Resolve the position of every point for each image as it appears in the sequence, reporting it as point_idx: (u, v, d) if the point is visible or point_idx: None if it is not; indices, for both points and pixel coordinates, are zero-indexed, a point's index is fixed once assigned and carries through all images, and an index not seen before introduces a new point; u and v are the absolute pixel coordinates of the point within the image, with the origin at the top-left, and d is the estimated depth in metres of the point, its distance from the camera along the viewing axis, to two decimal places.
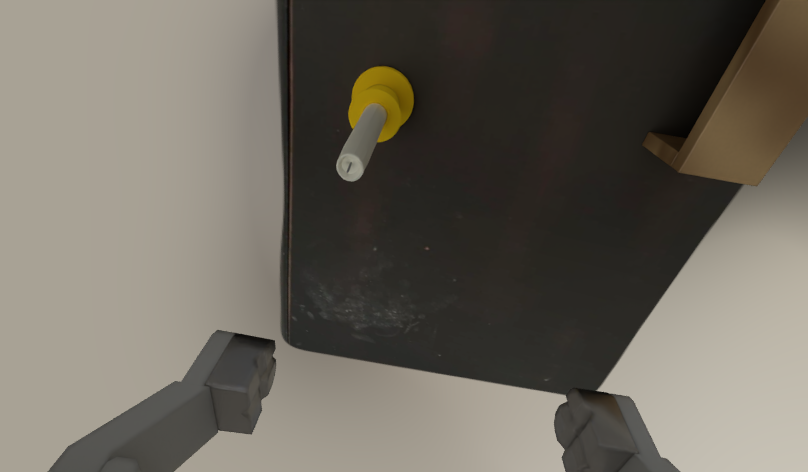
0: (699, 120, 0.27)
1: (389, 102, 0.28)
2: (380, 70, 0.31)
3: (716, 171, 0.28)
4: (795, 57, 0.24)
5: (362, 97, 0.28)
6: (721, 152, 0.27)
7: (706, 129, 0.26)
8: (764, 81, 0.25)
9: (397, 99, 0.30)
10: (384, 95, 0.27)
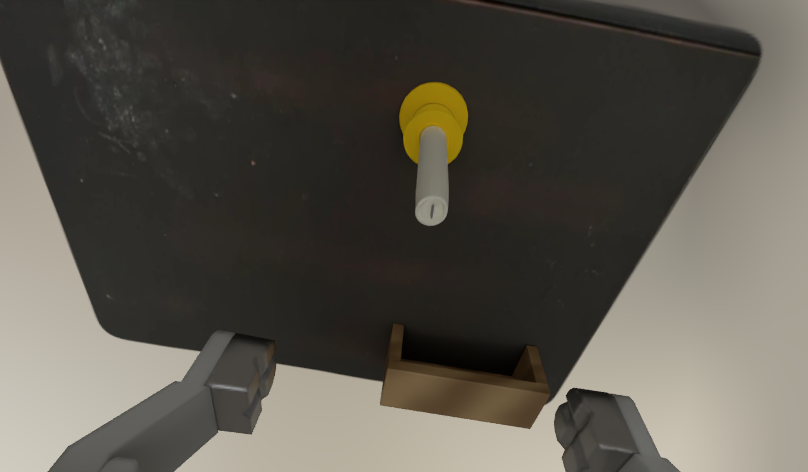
0: (424, 367, 0.38)
1: (447, 155, 0.26)
2: (464, 118, 0.29)
3: (390, 385, 0.38)
4: (465, 399, 0.39)
5: (453, 127, 0.25)
6: (404, 384, 0.38)
7: (420, 375, 0.37)
8: (452, 391, 0.38)
9: None
10: (454, 151, 0.26)
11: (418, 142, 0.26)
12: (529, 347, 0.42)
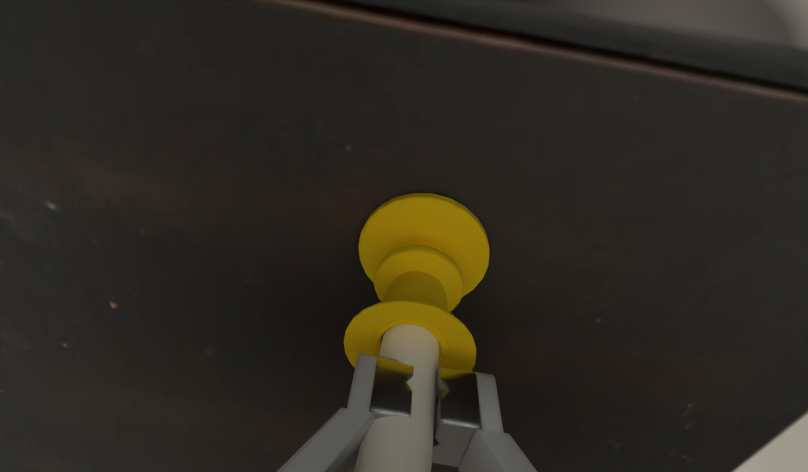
0: None
1: None
2: (483, 259, 0.15)
3: None
4: None
5: (456, 334, 0.11)
6: None
7: None
8: None
9: None
10: None
11: (378, 350, 0.12)
12: None
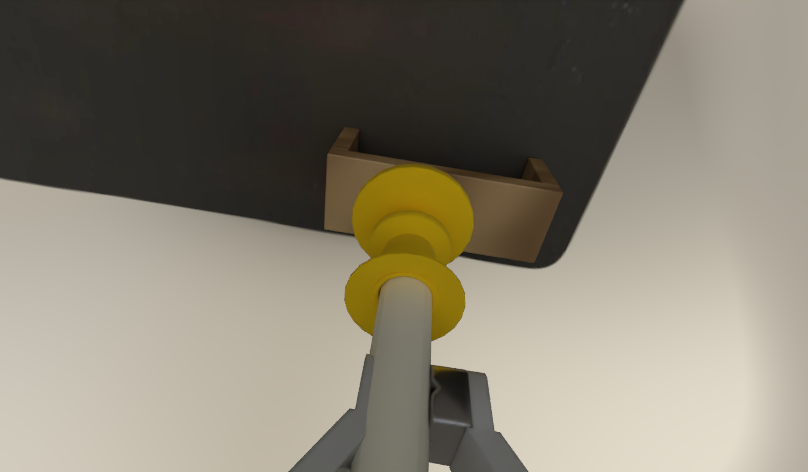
0: (382, 157, 0.26)
1: None
2: (461, 245, 0.17)
3: (334, 189, 0.27)
4: None
5: (453, 299, 0.12)
6: (354, 185, 0.27)
7: (375, 164, 0.26)
8: None
9: None
10: (434, 332, 0.13)
11: (375, 293, 0.12)
12: (531, 158, 0.31)
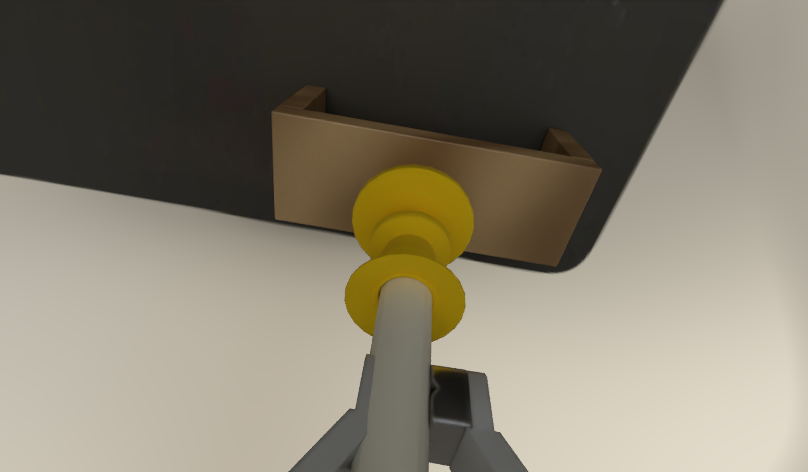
0: (350, 119, 0.19)
1: None
2: (461, 246, 0.17)
3: (284, 162, 0.19)
4: None
5: (453, 299, 0.12)
6: (311, 158, 0.19)
7: (339, 126, 0.18)
8: None
9: None
10: (434, 332, 0.13)
11: (375, 293, 0.12)
12: (553, 129, 0.23)
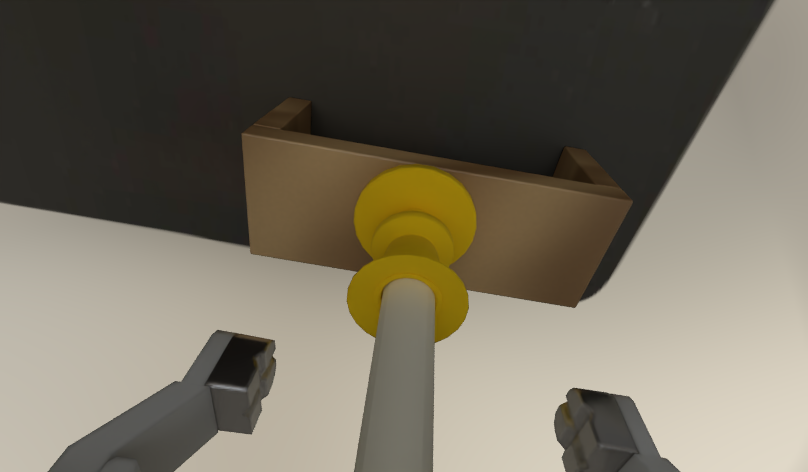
0: (335, 141, 0.16)
1: None
2: (464, 246, 0.17)
3: (258, 191, 0.17)
4: None
5: (456, 300, 0.12)
6: (290, 186, 0.16)
7: (322, 151, 0.15)
8: None
9: None
10: (437, 334, 0.13)
11: (377, 294, 0.12)
12: (569, 148, 0.20)
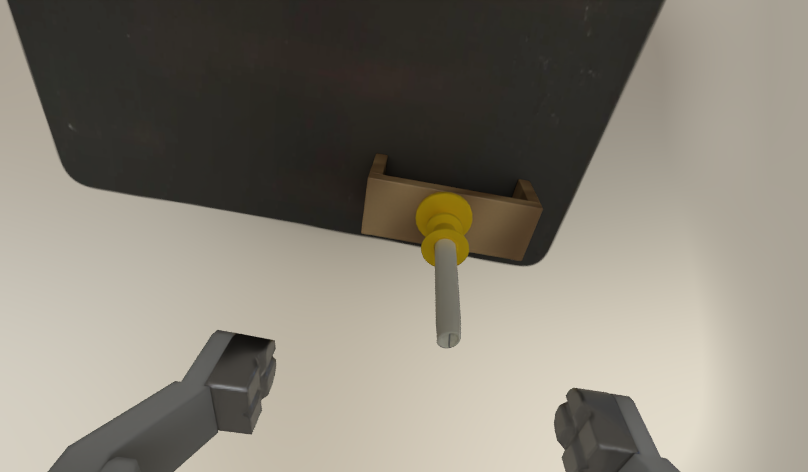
0: (408, 180, 0.35)
1: None
2: (466, 229, 0.36)
3: (371, 203, 0.36)
4: None
5: (464, 247, 0.31)
6: (386, 201, 0.35)
7: (403, 185, 0.34)
8: None
9: None
10: None
11: (433, 245, 0.31)
12: (521, 180, 0.39)
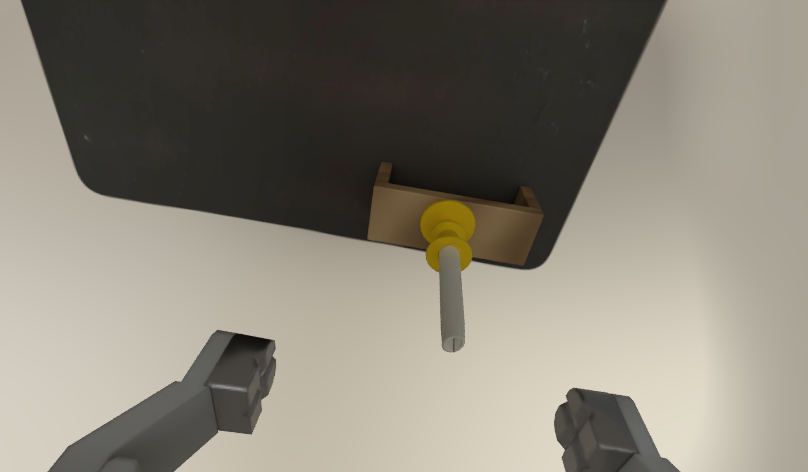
0: (412, 188, 0.36)
1: None
2: (469, 235, 0.37)
3: (377, 210, 0.37)
4: None
5: (467, 254, 0.32)
6: (392, 208, 0.36)
7: (408, 193, 0.36)
8: None
9: None
10: (459, 268, 0.33)
11: (437, 252, 0.33)
12: (522, 186, 0.41)
